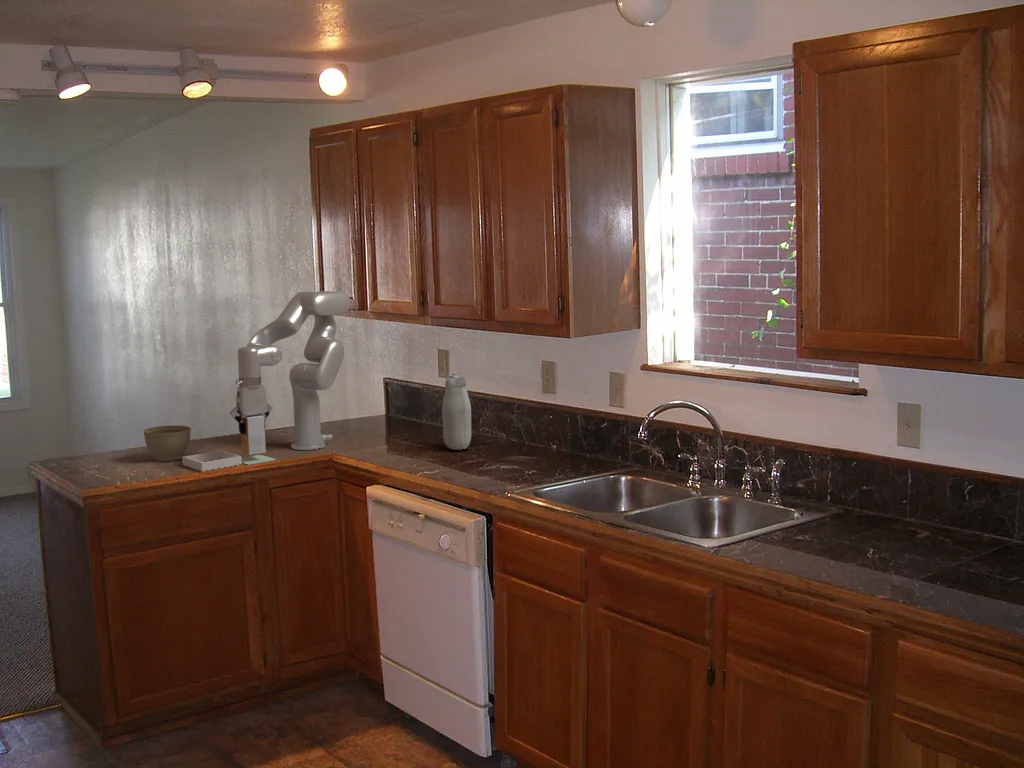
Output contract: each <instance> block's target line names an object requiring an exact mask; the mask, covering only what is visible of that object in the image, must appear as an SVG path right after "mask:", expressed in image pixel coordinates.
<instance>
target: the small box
mask: <svg viewBox="0 0 1024 768" xmlns="http://www.w3.org/2000/svg"><path fill="white" fill-rule="evenodd" d="M244 423H245V425H246V434H241V433H240V432H239V433H240V451H241V452H243V453H244V454H245V453H246V454H247V455H251V456H253V455H260V454H265V453H267V451H266V450H267V449H266V448H267V447H266V428H265V426H266V425H265V426H264V416H261V415H258V414H256V415H248V416H246V418H245V420H244Z"/></svg>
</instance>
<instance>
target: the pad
mask: <svg viewBox="0 0 1024 768" xmlns="http://www.w3.org/2000/svg"><path fill="white" fill-rule="evenodd" d="M241 459H242V463H244V464H243V465H246V464H247V465H246V466H251V465H256V464H261V463H267V462H268V463H269V462H273V461H277V459H276V458H272V457H270V456H266V455H263V454H254V455H251V456H244V457H241Z"/></svg>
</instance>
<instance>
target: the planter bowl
mask: <svg viewBox="0 0 1024 768" xmlns="http://www.w3.org/2000/svg"><path fill="white" fill-rule="evenodd" d="M191 432H192V429H191V426H185V425H160V426H159V425H158V426H153V427H148V428H145V429H143V435H144V442H145V445H146V447H147V449H148V451H149V452H150V453H151V454H152V455H153V457H154V460H155V461H158V462H170V461H178V460H181V459H182V457H184V456H183V455H184V453H185V451H187V448H188V446H189V444H190V440H191Z"/></svg>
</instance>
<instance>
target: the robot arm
mask: <svg viewBox="0 0 1024 768" xmlns="http://www.w3.org/2000/svg"><path fill="white" fill-rule="evenodd" d="M351 304H352V302H351V298H350V296H349V295H348V294H347V293H346V292H344V291H335V290H333V291H330V290H319V291H301V292H297V293H296V294H294V296H293V297H292V298H291V299H290V300H289V302H288V304H287V305H286V307H285V308H284V309H283V310H282V312H280V314H279V316H278V317H277V318H276V319H274V320H273V321H272V322H270V323H268V324H267V325H266V326H264V327H262V328H261V329H259V330H258V331H257V332H256V333H255V334H254V335H253V336H252V338H251V339H250V340H249V342H248V343H247V345H246V346H242V347H239V348H238V349H237V362H238V363H237V364H238V365H237V366H238V367H237V369H238V377H237V378H238V379H237V380H235V384H236V385H238V386H237V388H236V395H235V396H236V397H235V398H236V399H235V406H234V407H233V408H232V410H231V411H229V414H230V415H231V417H232V418H233V419H234V420H236V422H237V423H238V431H239V433H241V434H246V425H245V423H244V420H245V418H246V416H248V415H256V414H258V415H261V416H264V426H265V429H266V420H267V418H268V417H269V415H270V413H271V412H272V410H273V407H272V406H271V405H270V404H268V401H267V400H268V399H267V394H266V389H265V385H263V384H262V372H261V371H262V370H261V369H262V368H261V367H263V366H264V367H272V366H273V367H274V366H275V365H277V364H279V363H280V362H281V360H282V358H283V353H282V351H281V348H280V347H278V346H277V345H274V343H276V342H278V341H280V340H281V341H282V340H284V339H286V338H290V337H292V336H294V335H296V334H297V333H298V332H299V330H300V329H301V327H302V326H303V325H304V323H305V322H306V321H307V319H308V318H309V317H310V316H313V317H314V325H313V328H312V331H311V333H310V335H309V338H308V340H307V342H306V344H305V346H304V349H303V356H304V358H305V360H307V361H308V362H300V363H297V364H295V365H293V366H292V367H291V369H290V370H289V382H290V386H291V391H292V399H293V401H292V402H293V419H294V421H293V422H294V440H295V441H294V442H293V443H291V446H290V447H291V449H293V450H298V451H313V449H314V450H319V448H320V449H323V448H325V447H326V443H325V441H328V440H332V439H333V434H331V433H328V434H324V433H321V409H320V406H321V405H320V403H321V402H320V396H319V393H318V391H326V390H329V389H330V388H331V387H332V386H333V384H334V382H335V380H336V377H337V376H338V373H339V370H340V368H341V366H342V363H343V361H344V357H345V346H344V345H343V342H342V341H340V340H339V339H337V338H335V337H336V333H337V323H336V319H335V317H334V316H337V315H339V316H340V315H341V316H342V315H344V314H347V312H348V311H349V310H350V308H351ZM309 362H310V363H309Z"/></svg>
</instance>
